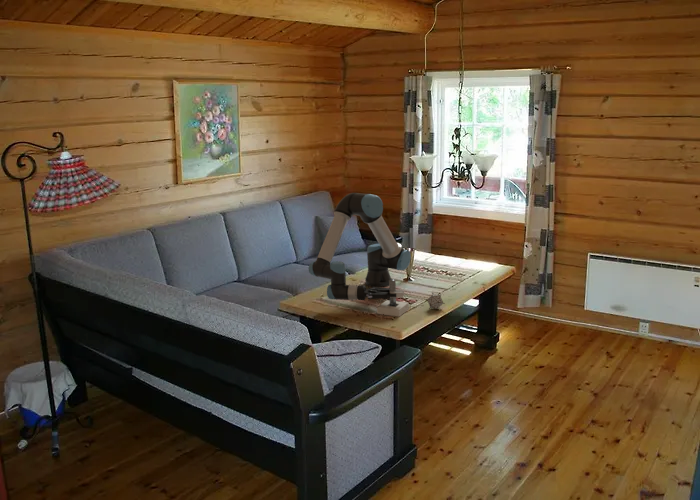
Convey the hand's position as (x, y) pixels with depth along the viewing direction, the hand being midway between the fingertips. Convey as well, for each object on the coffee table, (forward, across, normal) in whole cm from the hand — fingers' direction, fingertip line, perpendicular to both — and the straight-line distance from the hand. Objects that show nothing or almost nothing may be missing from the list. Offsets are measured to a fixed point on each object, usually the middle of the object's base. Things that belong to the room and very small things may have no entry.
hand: (403, 293), depth 340 cm
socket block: (-5, 0, -10) cm, 11 cm away
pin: (-5, 0, -8) cm, 10 cm away
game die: (+15, -6, -10) cm, 19 cm away
